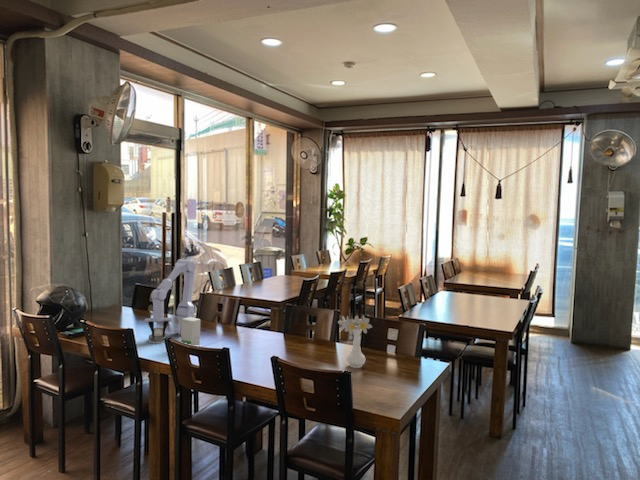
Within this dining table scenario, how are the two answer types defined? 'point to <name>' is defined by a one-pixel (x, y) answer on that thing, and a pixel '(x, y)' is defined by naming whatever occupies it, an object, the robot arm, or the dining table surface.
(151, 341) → the round grey ashtray
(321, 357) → the dining table surface
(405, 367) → the dining table surface
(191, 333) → the skincare box
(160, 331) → the cap
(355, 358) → the flower vase
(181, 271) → the robot arm
